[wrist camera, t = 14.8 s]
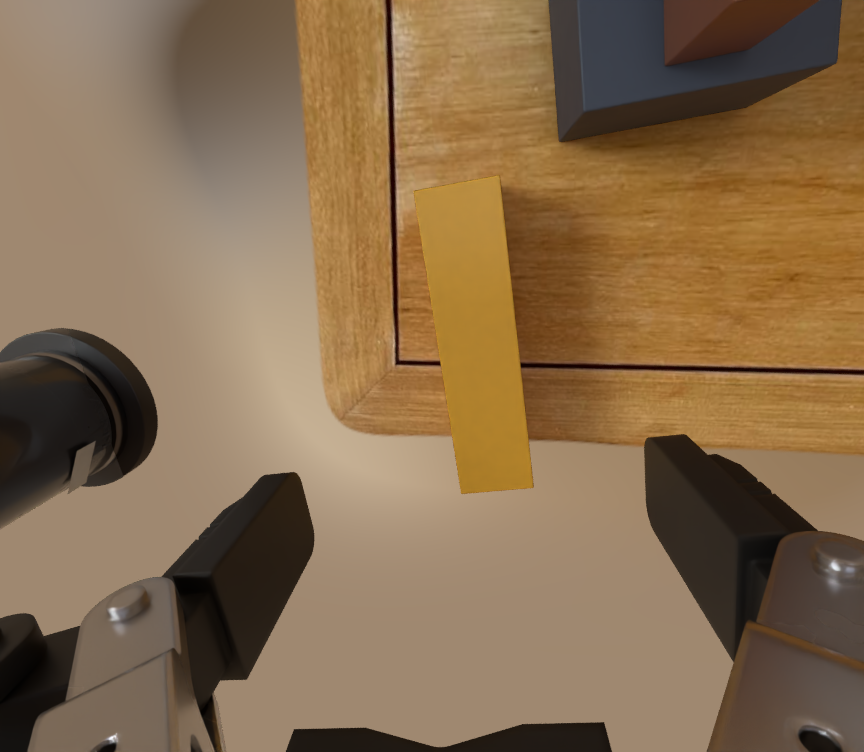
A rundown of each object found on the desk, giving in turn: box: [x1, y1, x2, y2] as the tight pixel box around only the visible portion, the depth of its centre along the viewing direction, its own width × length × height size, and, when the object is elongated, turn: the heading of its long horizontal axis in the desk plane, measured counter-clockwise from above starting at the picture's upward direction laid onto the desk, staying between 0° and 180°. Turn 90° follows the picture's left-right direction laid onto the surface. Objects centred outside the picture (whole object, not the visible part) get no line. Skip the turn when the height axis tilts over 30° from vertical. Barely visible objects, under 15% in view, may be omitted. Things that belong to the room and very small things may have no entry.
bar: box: [414, 175, 534, 494], centre depth 25 cm, size 4×16×4 cm, turn 9°
